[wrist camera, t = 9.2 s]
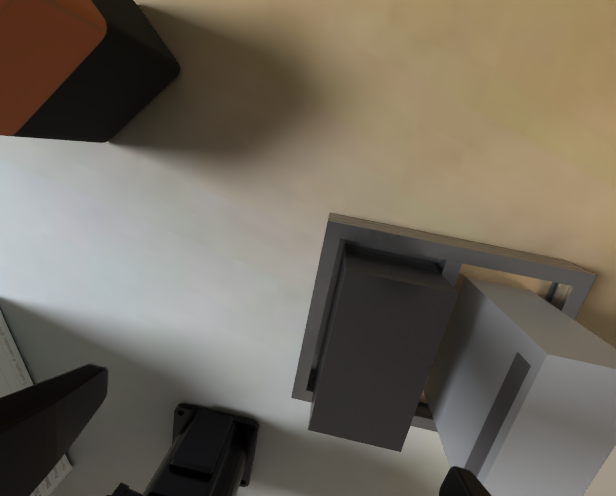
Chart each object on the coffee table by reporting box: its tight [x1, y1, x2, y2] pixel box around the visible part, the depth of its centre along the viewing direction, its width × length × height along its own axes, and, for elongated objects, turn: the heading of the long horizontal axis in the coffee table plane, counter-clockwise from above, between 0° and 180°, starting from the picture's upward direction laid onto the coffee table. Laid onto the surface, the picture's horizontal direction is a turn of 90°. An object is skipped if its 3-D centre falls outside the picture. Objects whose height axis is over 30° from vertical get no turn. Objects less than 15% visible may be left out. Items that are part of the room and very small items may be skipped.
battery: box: [0, 0, 180, 143], centre depth 12 cm, size 4×7×10 cm, turn 125°
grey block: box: [424, 277, 616, 496], centre depth 15 cm, size 8×4×7 cm, turn 170°
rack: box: [291, 213, 597, 452], centre depth 17 cm, size 12×14×6 cm
